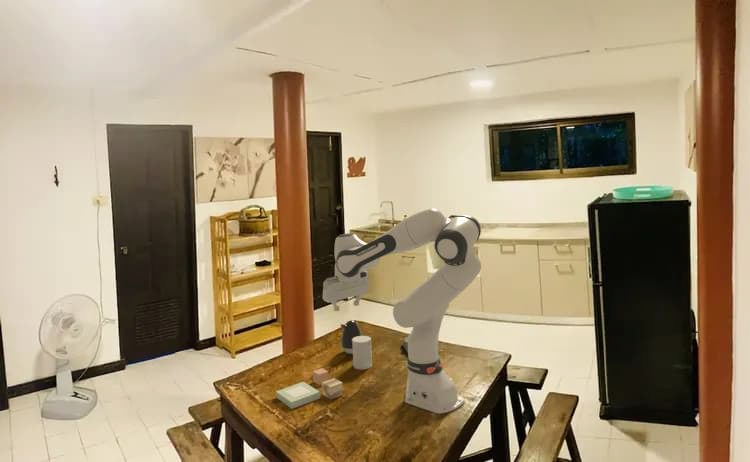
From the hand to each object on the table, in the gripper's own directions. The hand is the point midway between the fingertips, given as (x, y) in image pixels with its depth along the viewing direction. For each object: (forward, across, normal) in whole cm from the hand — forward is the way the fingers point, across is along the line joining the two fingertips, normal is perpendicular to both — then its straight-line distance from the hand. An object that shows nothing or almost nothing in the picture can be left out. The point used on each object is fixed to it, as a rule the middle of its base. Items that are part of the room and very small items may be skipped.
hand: (346, 307), depth 191 cm
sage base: (+30, -23, -1) cm, 38 cm away
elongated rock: (+32, +38, -1) cm, 49 cm away
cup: (+32, +13, +7) cm, 35 cm away
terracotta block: (+31, -9, +5) cm, 33 cm away
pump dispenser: (+33, +18, +23) cm, 44 cm away
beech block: (+30, -12, -8) cm, 33 cm away
